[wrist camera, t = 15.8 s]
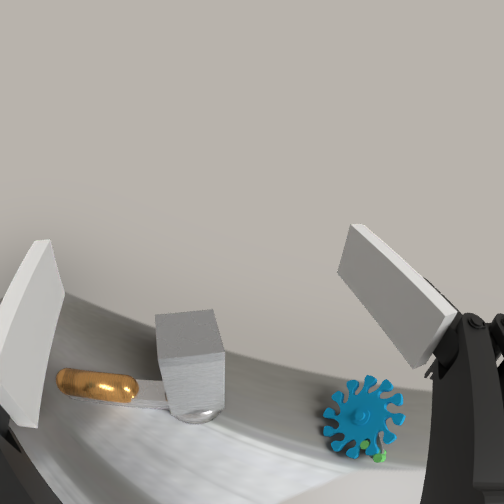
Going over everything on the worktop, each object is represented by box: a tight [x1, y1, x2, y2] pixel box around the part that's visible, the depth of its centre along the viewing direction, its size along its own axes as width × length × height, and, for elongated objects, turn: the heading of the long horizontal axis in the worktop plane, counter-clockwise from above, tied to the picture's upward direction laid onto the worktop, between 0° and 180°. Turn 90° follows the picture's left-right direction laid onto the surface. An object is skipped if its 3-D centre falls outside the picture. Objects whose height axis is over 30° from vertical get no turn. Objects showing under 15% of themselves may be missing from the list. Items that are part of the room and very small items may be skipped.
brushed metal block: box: [155, 309, 225, 416], centre depth 30 cm, size 6×6×10 cm
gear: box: [323, 375, 406, 462], centre depth 29 cm, size 11×6×10 cm
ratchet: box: [56, 368, 221, 424], centre depth 32 cm, size 22×7×5 cm, turn 96°
